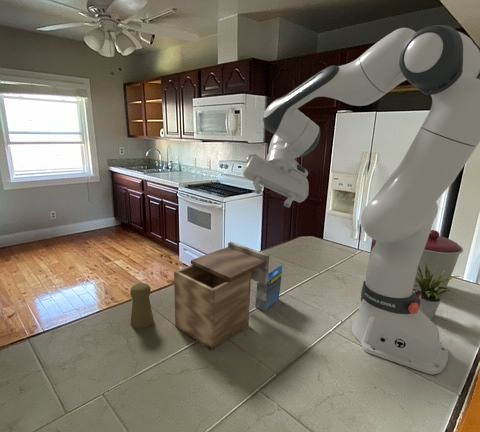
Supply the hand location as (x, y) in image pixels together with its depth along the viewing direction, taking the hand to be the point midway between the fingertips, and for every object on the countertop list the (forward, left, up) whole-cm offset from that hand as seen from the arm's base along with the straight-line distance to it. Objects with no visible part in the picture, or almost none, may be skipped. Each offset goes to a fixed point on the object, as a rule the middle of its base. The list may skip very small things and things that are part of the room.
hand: (272, 198), depth 88 cm
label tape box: (0, 0, -33) cm, 33 cm away
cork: (+19, +32, -33) cm, 50 cm away
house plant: (-36, -28, -33) cm, 57 cm away
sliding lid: (+4, +13, -23) cm, 27 cm away
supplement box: (-16, -53, -33) cm, 65 cm away
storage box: (+4, +20, -33) cm, 39 cm away
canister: (-33, -48, -33) cm, 67 cm away
